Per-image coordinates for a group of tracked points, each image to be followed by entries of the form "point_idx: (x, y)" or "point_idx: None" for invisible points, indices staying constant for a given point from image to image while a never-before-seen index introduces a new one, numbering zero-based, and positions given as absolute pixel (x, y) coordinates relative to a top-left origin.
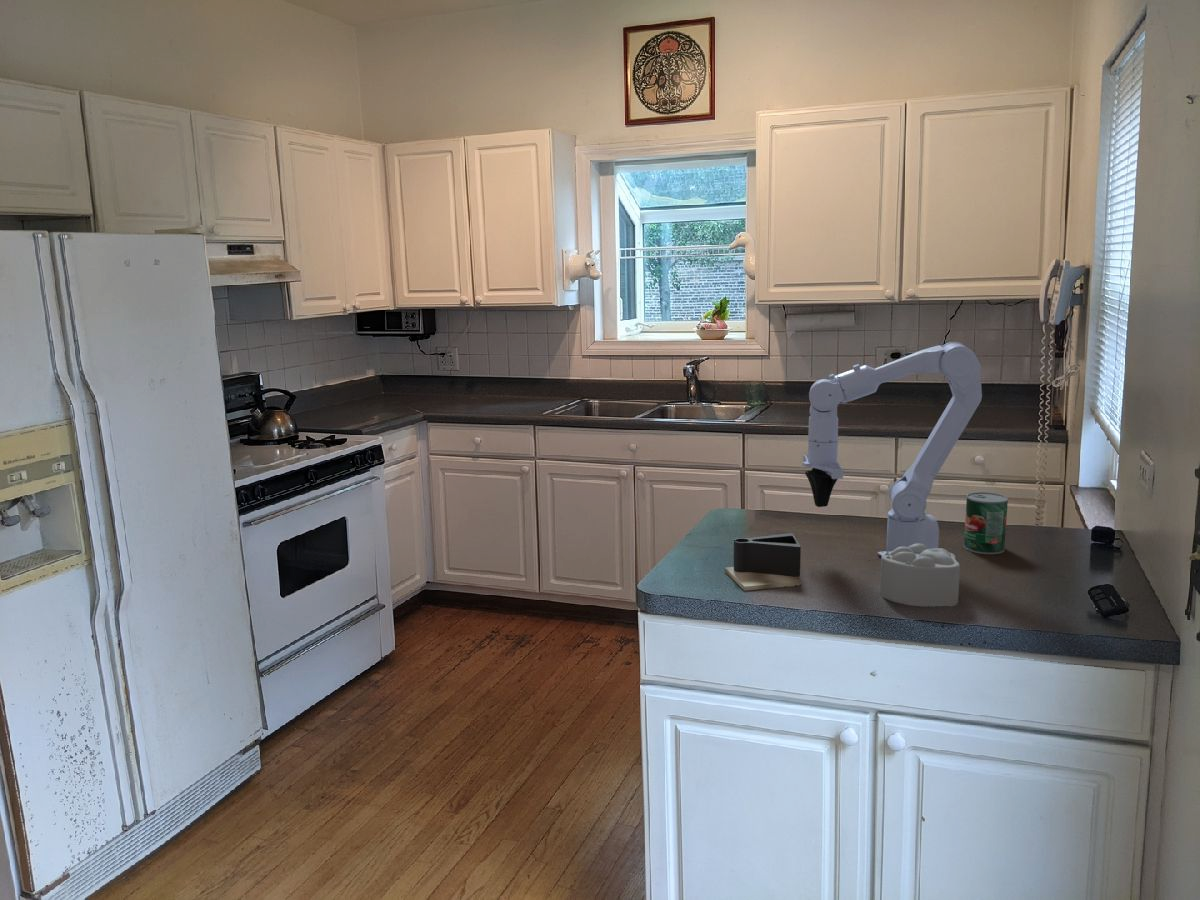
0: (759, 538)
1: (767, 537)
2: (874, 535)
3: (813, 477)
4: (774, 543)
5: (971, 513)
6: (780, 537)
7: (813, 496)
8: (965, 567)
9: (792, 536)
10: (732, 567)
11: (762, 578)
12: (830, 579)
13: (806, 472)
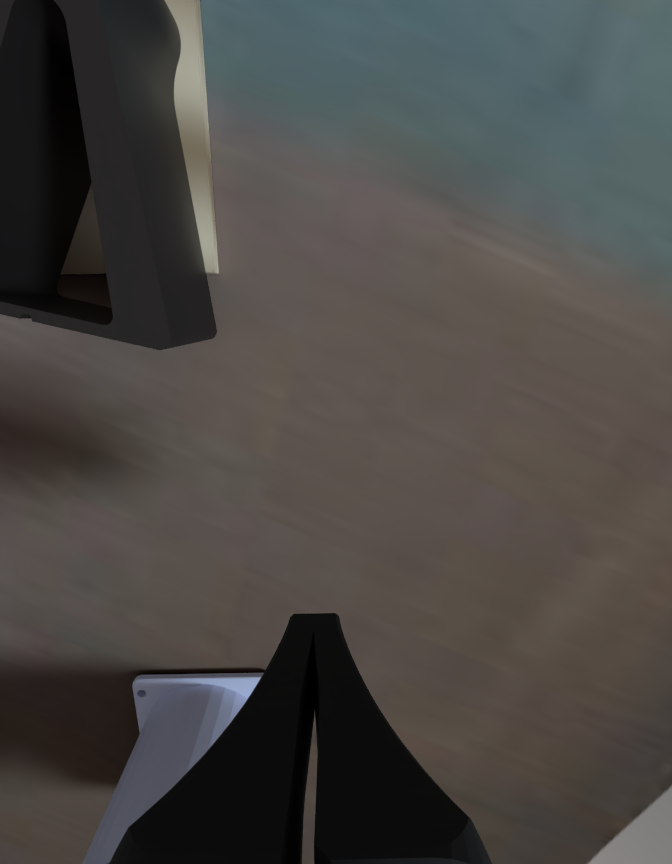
0: (80, 74)
1: (96, 145)
2: (470, 742)
3: (155, 843)
4: None
5: None
6: (103, 243)
7: (340, 650)
8: None
9: (108, 325)
10: (186, 4)
11: None
12: (36, 419)
13: (408, 861)
